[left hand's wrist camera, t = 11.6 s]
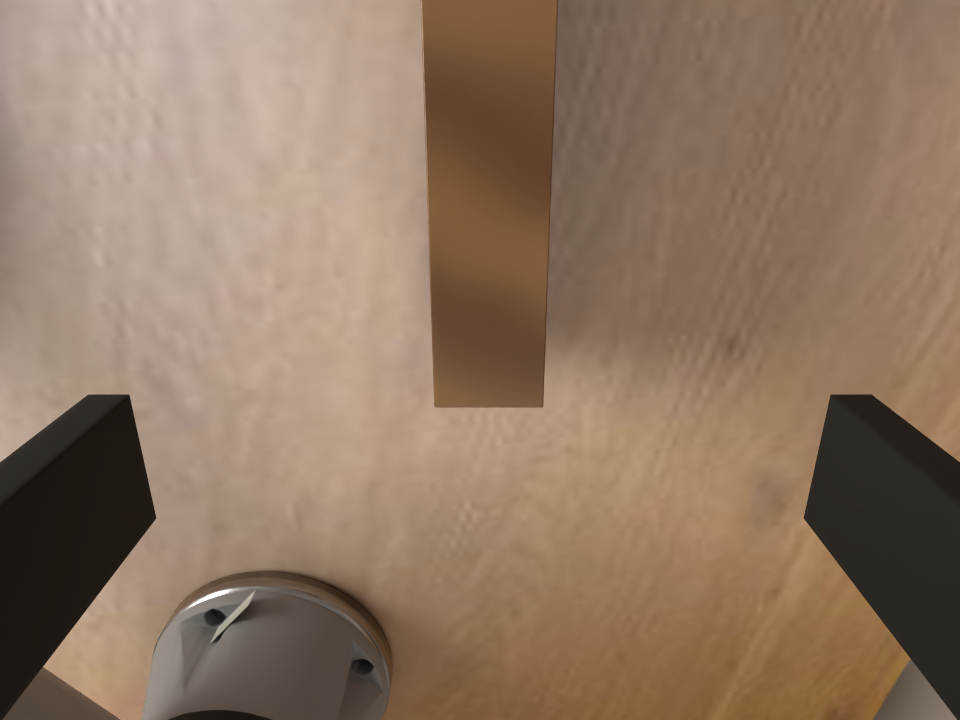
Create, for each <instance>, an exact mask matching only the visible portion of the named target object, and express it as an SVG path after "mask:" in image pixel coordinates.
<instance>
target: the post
mask: <svg viewBox="0 0 960 720" xmlns="http://www.w3.org/2000/svg"><path fill="white" fill-rule="evenodd" d="M557 14H558V0H421V22H422V52H423V82H424V112H425V142H426V172H427V202H428V232H429V262H430V292H431V322H432V352H433V382H434V406H435V407H543V397H544V369H545V342H546V314H547V287H548V260H549V232H550V205H551V178H552V150H553V123H554V96H555V68H556V41H557Z"/></svg>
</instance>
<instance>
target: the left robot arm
mask: <svg viewBox="0 0 960 720" xmlns="http://www.w3.org/2000/svg"><path fill="white" fill-rule="evenodd" d="M155 519H156V515H155V510H154V506H153V501H152V497H151V492H150V487H149V483H148V478H147V474H146V469H145V464H144V460H143V455H142V451H141V446H140V442H139V437H138V432H137V428H136V423H135V419H134V414H133V409H132V405H131V400H130V396H129V395H87V396H86V397H85V398H83V399H82V400H81V401H79V402H78V403H77V404H76V405H74V406H73V407H72V408H70V409H69V410H68V411H66V412H65V413H64V414H63V415H61V416H60V417H59V418H57V419H56V420H55V421H53V422H52V423H51V424H50V425H48V426H47V427H46V428H44V429H43V430H42V431H40V432H39V433H38V434H37V435H35V436H34V437H33V438H31V439H30V440H29V441H27V442H26V443H25V444H24V445H22V446H21V447H20V448H18V449H17V450H16V451H14V452H13V453H12V454H11V455H9V456H8V457H7V458H5V459H4V460H3V461H1V462H0V720H120V719H118V718H117V717H116V716H114V715H113V714H111V713H110V712H108V711H107V710H105V709H104V708H102V707H101V706H99V705H98V704H96V703H95V702H94V701H92V700H91V699H89V698H88V697H86V696H85V695H83V694H82V693H80V692H79V691H77V690H76V689H74V688H73V687H71V686H70V685H69V684H67V683H66V682H64V681H63V680H61V679H60V678H58V677H57V676H55V675H54V674H52V673H51V672H49V671H48V670H46V669H45V668H44V667H43V666H44V665H45V663H46V662H47V661H48V659H49V658H50V657H51V656H52V654H53V653H54V652H55V650H56V649H57V648H58V646H59V645H60V644H61V642H62V641H63V640H64V638H65V637H66V636H67V635H68V633H69V632H70V631H71V629H72V628H73V627H74V625H75V624H76V623H77V621H78V620H79V619H80V617H81V616H82V615H83V614H84V612H85V611H86V610H87V608H88V607H89V606H90V604H91V603H92V602H93V600H94V599H95V598H96V596H97V595H98V594H99V593H100V591H101V590H102V589H103V587H104V586H105V585H106V583H107V582H108V581H109V579H110V578H111V577H112V576H113V574H114V573H115V572H116V570H117V569H118V568H119V566H120V565H121V564H122V562H123V561H124V560H125V558H126V557H127V556H128V555H129V553H130V552H131V551H132V549H133V548H134V547H135V545H136V544H137V543H138V541H139V540H140V539H141V537H142V536H143V535H144V534H145V532H146V531H147V530H148V528H149V527H150V526H151V524H152V523H153V522H154V520H155ZM804 519H805V520H806V522H807V523H808V524H809V526H810V527H811V528H812V530H813V531H814V532H815V534H816V535H817V536H818V537H819V539H820V540H821V541H822V543H823V544H824V545H825V547H826V548H827V549H828V551H829V552H830V553H831V555H832V556H833V557H834V558H835V560H836V561H837V562H838V564H839V565H840V566H841V568H842V569H843V570H844V572H845V573H846V574H847V576H848V577H849V578H850V579H851V581H852V582H853V583H854V585H855V586H856V587H857V589H858V590H859V591H860V593H861V594H862V595H863V597H864V598H865V599H866V600H867V602H868V603H869V604H870V606H871V607H872V608H873V610H874V611H875V612H876V614H877V615H878V616H879V617H880V619H881V620H882V621H883V623H884V624H885V625H886V627H887V628H888V629H889V631H890V632H891V633H892V635H893V636H894V637H895V638H896V640H897V641H898V642H899V644H900V645H901V646H902V648H903V649H904V650H905V652H906V653H907V654H908V656H909V657H910V658H911V659H912V661H913V662H914V663H915V665H916V666H917V667H918V669H919V670H920V671H921V672H922V674H923V675H924V676H925V678H926V679H927V680H928V682H929V683H930V684H931V686H932V687H933V688H934V690H935V691H936V692H937V694H938V695H939V696H940V697H941V699H942V700H943V701H944V703H945V704H946V705H947V707H948V708H949V709H950V711H951V712H952V713H953V715H954V716H955V717H956V718H957V720H960V462H959V461H957V460H956V459H955V458H953V457H952V456H951V455H949V454H948V453H947V452H946V451H944V450H943V449H942V448H940V447H939V446H938V445H936V444H935V443H934V442H933V441H931V440H930V439H929V438H927V437H926V436H925V435H923V434H922V433H921V432H920V431H918V430H917V429H916V428H914V427H913V426H912V425H910V424H909V423H908V422H907V421H905V420H904V419H903V418H901V417H900V416H899V415H897V414H896V413H895V412H894V411H892V410H891V409H890V408H888V407H887V406H886V405H884V404H883V403H882V402H881V401H879V400H878V399H877V398H875V397H874V396H873V395H831V396H830V400H829V405H828V409H827V414H826V419H825V423H824V428H823V432H822V437H821V442H820V446H819V451H818V455H817V460H816V464H815V469H814V474H813V478H812V483H811V487H810V492H809V497H808V501H807V506H806V510H805V515H804ZM392 669H393V665H392V656H391V652H390V648H389V645H388V643H387V640H386V638H385V636H384V634H383V632H382V630H381V629H380V627H379V626H378V624H377V623H376V622H375V621H374V619H373V618H372V617H371V616H370V615H369V614H368V613H367V612H366V611H365V610H364V609H363V608H362V607H361V606H360V605H359V604H358V603H356V602H355V601H354V600H352V599H351V598H349V597H348V596H347V595H345V594H343V593H342V592H340V591H338V590H336V589H334V588H332V587H330V586H328V585H326V584H324V583H321V582H319V581H316V580H313V579H310V578H306V577H303V576H298V575H294V574H288V573H281V572H247V573H240V574H235V575H230V576H227V577H223V578H220V579H217V580H215V581H212V582H210V583H208V584H206V585H204V586H202V587H201V588H199V589H197V590H196V591H194V592H193V593H192V594H190V595H189V596H188V597H187V598H186V599H185V600H184V601H183V602H182V603H181V604H180V605H179V606H178V607H177V609H176V610H175V611H174V613H173V615H172V616H171V618H170V620H169V621H168V623H167V625H166V626H165V628H164V630H163V632H162V633H161V635H160V637H159V638H158V641H157V643H156V645H155V649H154V653H153V658H152V662H151V668H150V674H149V680H148V686H147V691H146V697H145V703H144V709H143V715H142V720H381V719H382V717H383V715H384V713H385V710H386V707H387V704H388V698H389V692H390V686H391V679H392Z"/></svg>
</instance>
